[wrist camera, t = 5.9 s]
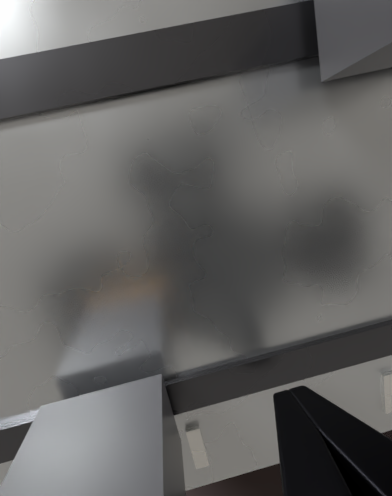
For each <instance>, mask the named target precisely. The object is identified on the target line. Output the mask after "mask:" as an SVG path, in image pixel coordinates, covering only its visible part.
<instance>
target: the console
mask: <svg viewBox="0 0 392 496" xmlns="http://www.w3.org/2000/svg"><path fill="white" fill-rule="evenodd" d="M159 374H162V377H163V380H164V384H165V387H166V391H167V394H168V398H169V401H170V404H171V408H172V411H173V415H174V418H175V422H176V425H177V429H178V432H179V435H180V439H181V445H182V456H183V468H184V480H185V491H187V490H190V489H194V488H197V487H200V486H204V485H207V484H211V483H214V482H217V481H221V480H224V479H228V478H231V477H234V476H238V475H241V474H244V473H248V472H251V471H255V470H258V469H261V468H265V467H268V466H272V465H275V464H278V463H280V461H279V451H278V441H277V431H276V421H275V411H274V401H273V394H274V393H277V392H280V391H284V390H289V389H291V388H294V387H298V386H306V387H308V388H309V389H311V390H313V391H314V392H316V393H317V394H319V395H321V396H322V397H324V398H326V399H327V400H329V401H330V402H332V403H334V404H335V405H337V406H338V407H340V408H342V409H343V410H345V411H346V412H348V413H350V414H351V415H353V416H354V417H356V418H358V419H359V420H361V421H363V422H364V423H366V424H367V425H369V426H371V427H372V428H374V429H375V430H377V431H379V432H380V433H383V432H387V431H390V430H392V67H391V68H386V69H381V70H377V71H372V72H367V73H362V74H358V75H353V76H348V77H343V78H339V79H334V80H329V81H324V82H321V73H320V62H319V51H318V40H317V29H316V18H315V7H314V0H0V486H1V484H2V482H3V480H4V478H5V476H6V474H7V472H8V470H9V468H10V466H11V464H12V462H13V460H14V458H15V456H16V454H17V452H18V450H19V448H20V446H21V444H22V442H23V440H24V438H25V436H26V434H27V432H28V430H29V428H30V426H31V425H32V423H33V421H34V419H35V417H36V415H37V413H38V411H39V409H40V407H41V406H43V405H46V404H50V403H54V402H58V401H61V400H65V399H69V398H73V397H76V396H80V395H84V394H88V393H91V392H95V391H99V390H103V389H106V388H110V387H114V386H117V385H121V384H125V383H129V382H132V381H136V380H140V379H144V378H147V377H151V376H155V375H159Z"/></svg>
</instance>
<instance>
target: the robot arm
mask: <svg viewBox="0 0 392 496" xmlns="http://www.w3.org/2000/svg"><path fill="white" fill-rule="evenodd" d="M273 401H274V411H275V421H276V431H277V441H278V451H279V461H280V471H281V481H282V491H283V496H392V440H391V439H390V438H388V437H387V436H385V435H383V434H382V433H380V432H379V431H377V430H375V429H374V428H372V427H371V426H369V425H367V424H366V423H364V422H363V421H361V420H359V419H358V418H356V417H354V416H353V415H351V414H350V413H348V412H346V411H345V410H343V409H342V408H340V407H338V406H337V405H335V404H334V403H332V402H330V401H329V400H327V399H326V398H324V397H322V396H321V395H319V394H317V393H316V392H314V391H313V390H311V389H309V388H308V387H306V386H298V387H294V388H291V389H289V390H284V391H280V392H277V393H274V394H273Z"/></svg>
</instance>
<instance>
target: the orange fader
mask: <svg viewBox="0 0 392 496" xmlns="http://www.w3.org/2000/svg"><path fill="white" fill-rule="evenodd" d="M0 496H186V492H185V480H184V468H183V456H182V445H181V439H180V435H179V432H178V429H177V425H176V422H175V418H174V415H173V411H172V408H171V404H170V401H169V398H168V394H167V391H166V387H165V384H164V380H163V377H162V374H159V375H155V376H151V377H147V378H144V379H140V380H136V381H132V382H129V383H125V384H121V385H117V386H114V387H110V388H106V389H103V390H99V391H95V392H91V393H88V394H84V395H80V396H76V397H73V398H69V399H65V400H61V401H58V402H54V403H50V404H46V405H43V406H41V407H40V409H39V411H38V413H37V415H36V417H35V419H34V421H33V423H32V425H31V426H30V428H29V430H28V432H27V434H26V436H25V438H24V440H23V442H22V444H21V446H20V448H19V450H18V452H17V454H16V456H15V458H14V460H13V462H12V464H11V466H10V468H9V470H8V472H7V474H6V476H5V478H4V480H3V482H2V484H1V486H0Z"/></svg>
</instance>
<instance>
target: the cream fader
mask: <svg viewBox="0 0 392 496" xmlns="http://www.w3.org/2000/svg"><path fill="white" fill-rule="evenodd" d="M314 7H315V18H316V29H317V40H318V51H319V62H320V73H321V82H324V81H329V80H334V79H339V78H343V77H348V76H353V75H358V74H362V73H367V72H372V71H377V70H381V69H386V68H391V67H392V0H314Z"/></svg>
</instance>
